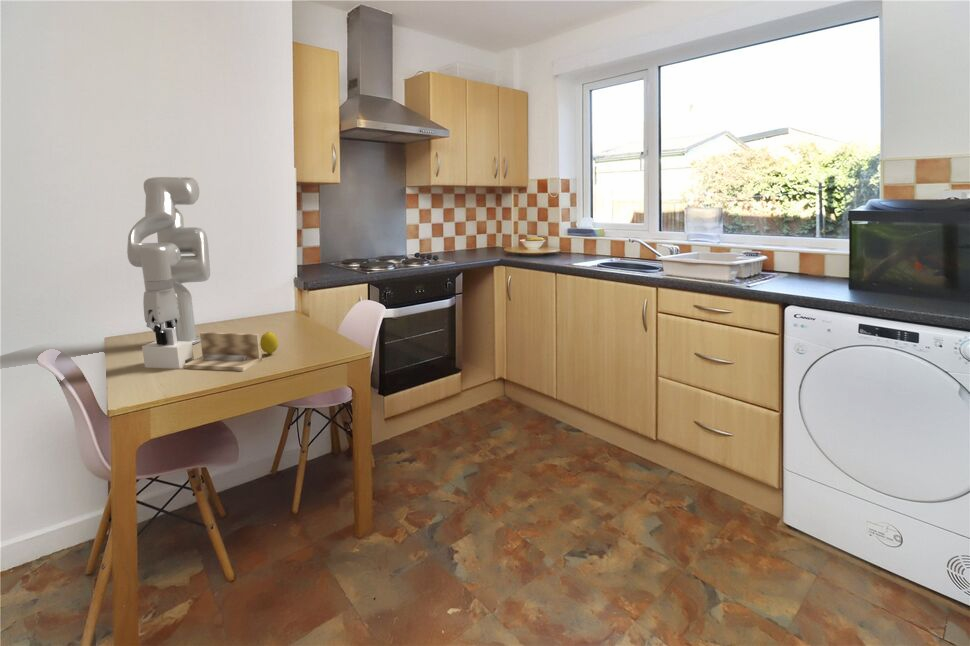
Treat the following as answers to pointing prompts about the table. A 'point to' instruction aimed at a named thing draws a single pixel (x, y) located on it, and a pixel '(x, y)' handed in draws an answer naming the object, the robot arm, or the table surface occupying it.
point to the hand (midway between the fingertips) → (166, 342)
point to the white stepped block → (168, 352)
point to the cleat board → (227, 351)
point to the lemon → (269, 343)
